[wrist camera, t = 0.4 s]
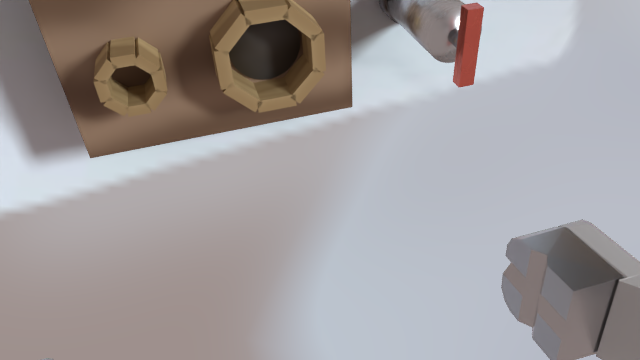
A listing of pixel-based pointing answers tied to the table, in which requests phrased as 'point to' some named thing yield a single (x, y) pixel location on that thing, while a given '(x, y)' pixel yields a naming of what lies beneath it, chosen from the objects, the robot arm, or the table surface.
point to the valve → (442, 31)
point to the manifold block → (194, 65)
